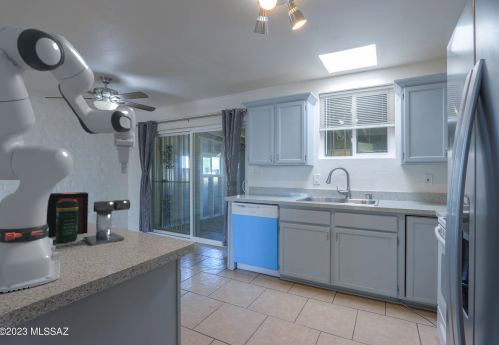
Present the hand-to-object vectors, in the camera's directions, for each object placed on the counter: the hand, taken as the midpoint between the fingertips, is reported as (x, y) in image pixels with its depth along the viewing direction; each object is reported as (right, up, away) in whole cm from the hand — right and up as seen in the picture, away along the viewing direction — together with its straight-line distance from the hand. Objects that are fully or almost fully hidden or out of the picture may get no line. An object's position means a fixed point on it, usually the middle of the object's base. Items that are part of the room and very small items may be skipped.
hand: (123, 173), depth 117 cm
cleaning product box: (-33, -30, +10) cm, 46 cm away
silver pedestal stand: (-9, -30, -1) cm, 32 cm away
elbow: (-6, -17, +2) cm, 19 cm away
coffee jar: (-24, -30, -3) cm, 39 cm away
